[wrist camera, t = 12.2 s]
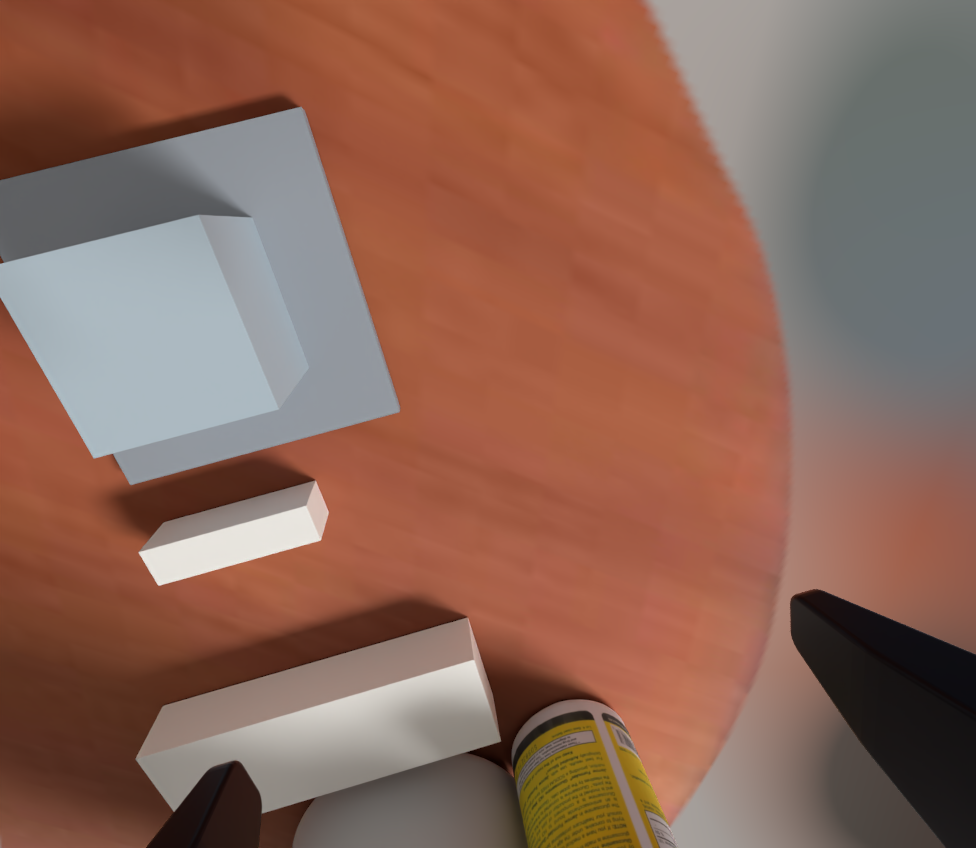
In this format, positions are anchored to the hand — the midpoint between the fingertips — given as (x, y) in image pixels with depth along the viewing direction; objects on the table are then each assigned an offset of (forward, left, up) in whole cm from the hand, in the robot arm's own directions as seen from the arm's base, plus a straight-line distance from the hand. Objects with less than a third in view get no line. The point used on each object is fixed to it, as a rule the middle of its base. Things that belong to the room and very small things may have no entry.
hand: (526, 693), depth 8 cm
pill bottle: (+1, -19, -13) cm, 23 cm away
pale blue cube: (-7, +6, -12) cm, 15 cm away
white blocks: (-9, -8, -13) cm, 18 cm away
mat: (-7, +6, -13) cm, 16 cm away
